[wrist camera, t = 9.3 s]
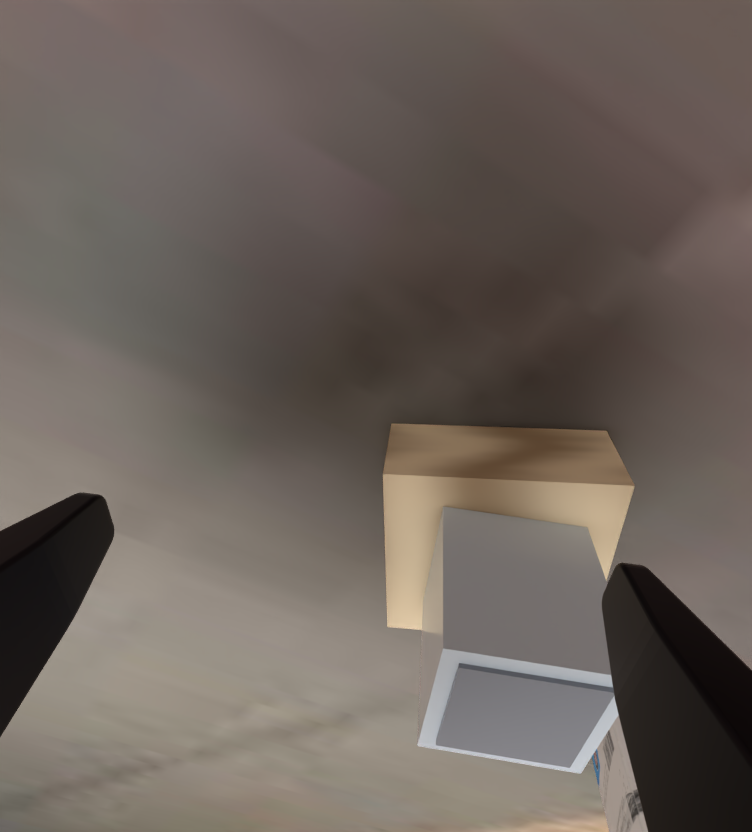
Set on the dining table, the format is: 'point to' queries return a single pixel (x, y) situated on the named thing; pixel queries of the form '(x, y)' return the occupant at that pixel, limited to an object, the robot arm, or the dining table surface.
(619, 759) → the ink box
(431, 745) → the gray paneled cube
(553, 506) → the beige square block
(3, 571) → the robot arm
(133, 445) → the dining table surface
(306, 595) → the dining table surface
